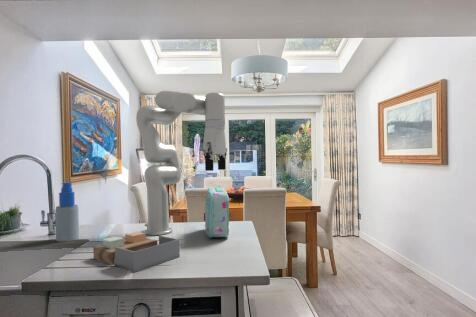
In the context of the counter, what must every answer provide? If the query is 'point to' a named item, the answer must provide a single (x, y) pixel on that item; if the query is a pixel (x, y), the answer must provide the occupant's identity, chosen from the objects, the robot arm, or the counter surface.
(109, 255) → the tan wooden board
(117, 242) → the sage tile
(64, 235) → the spray bottle
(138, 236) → the terracotta block
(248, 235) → the counter surface
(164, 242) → the box
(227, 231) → the lunch box
